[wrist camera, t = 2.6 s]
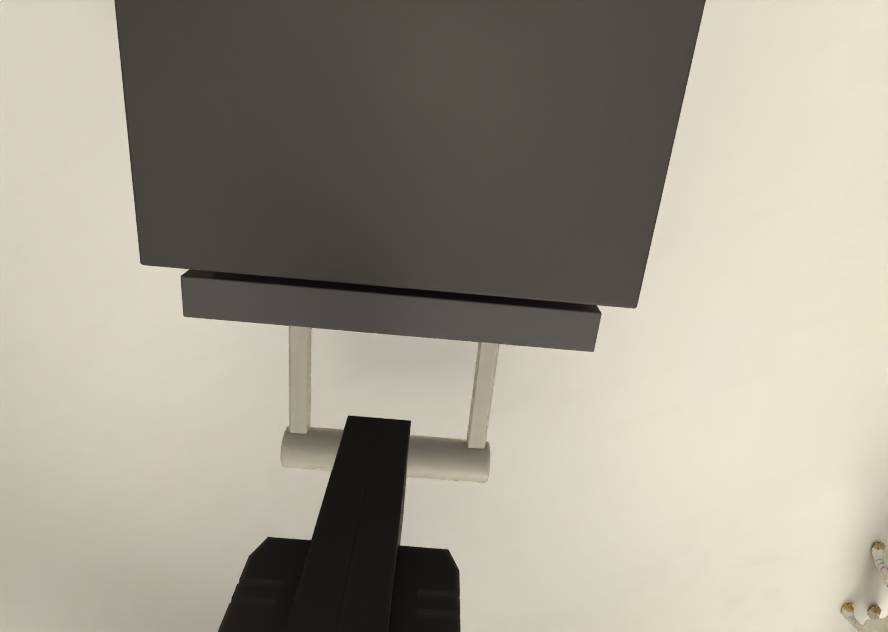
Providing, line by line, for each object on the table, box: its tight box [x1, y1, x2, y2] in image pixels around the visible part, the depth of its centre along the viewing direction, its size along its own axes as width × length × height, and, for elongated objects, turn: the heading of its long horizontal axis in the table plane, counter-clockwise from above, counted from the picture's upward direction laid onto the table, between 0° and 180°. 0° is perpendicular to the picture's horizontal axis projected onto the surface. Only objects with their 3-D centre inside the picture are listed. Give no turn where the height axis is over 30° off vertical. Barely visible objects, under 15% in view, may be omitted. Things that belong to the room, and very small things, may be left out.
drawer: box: [181, 269, 601, 483], centre depth 19 cm, size 21×11×9 cm, turn 175°
